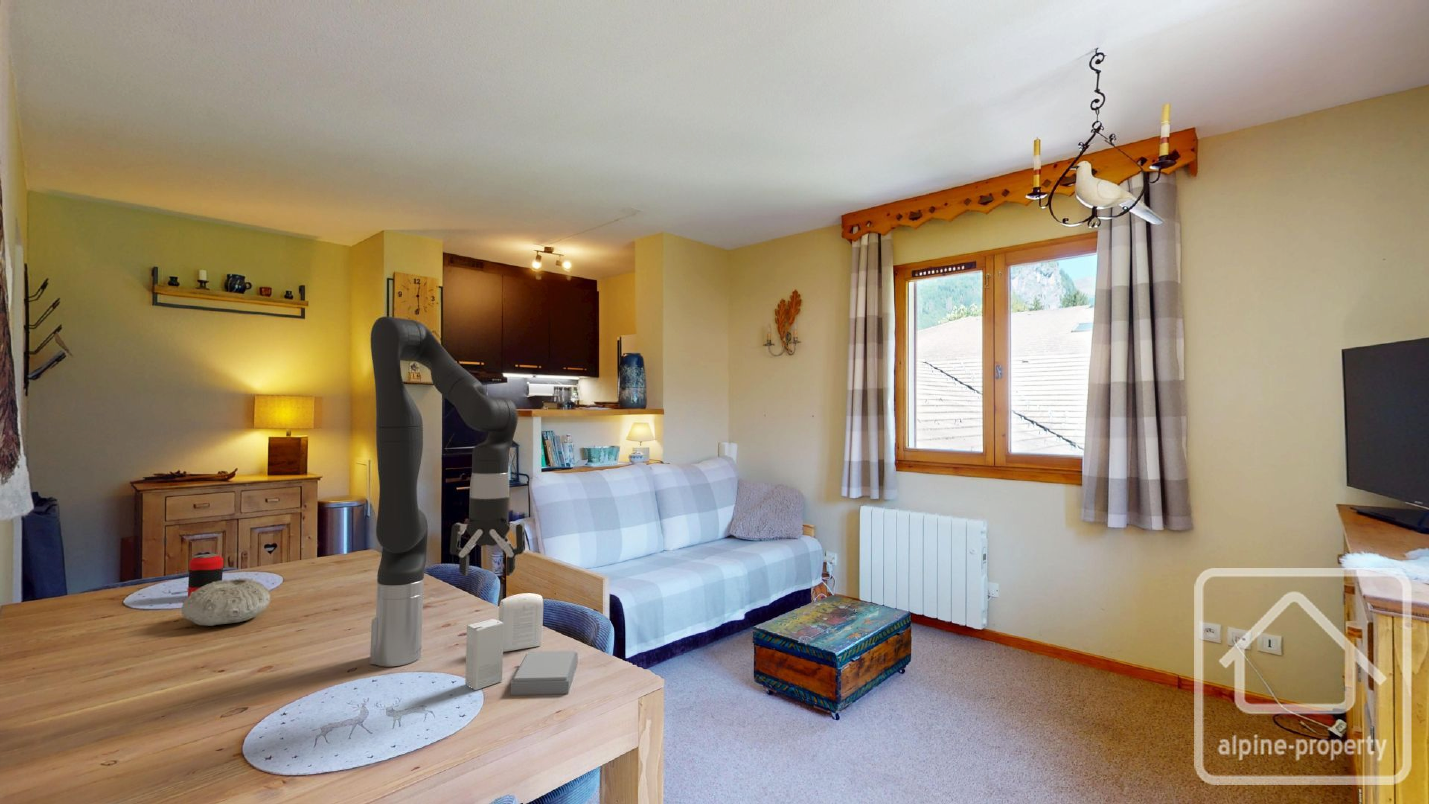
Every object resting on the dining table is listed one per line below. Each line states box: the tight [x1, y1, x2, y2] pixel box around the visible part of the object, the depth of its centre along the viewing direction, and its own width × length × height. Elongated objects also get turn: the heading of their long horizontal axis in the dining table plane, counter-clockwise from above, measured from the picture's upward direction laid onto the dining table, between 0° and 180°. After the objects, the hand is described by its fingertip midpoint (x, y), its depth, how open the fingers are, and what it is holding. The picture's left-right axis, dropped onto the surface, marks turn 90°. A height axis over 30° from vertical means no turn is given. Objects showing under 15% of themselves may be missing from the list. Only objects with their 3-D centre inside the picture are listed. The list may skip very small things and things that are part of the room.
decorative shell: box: [181, 577, 271, 627], centre depth 157 cm, size 18×18×10 cm
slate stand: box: [510, 650, 579, 696], centre depth 126 cm, size 11×15×3 cm
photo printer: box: [497, 592, 544, 653], centre depth 144 cm, size 10×4×12 cm, turn 123°
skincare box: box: [464, 618, 504, 691], centre depth 123 cm, size 6×4×12 cm
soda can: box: [187, 553, 224, 598], centre depth 177 cm, size 8×8×12 cm
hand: (487, 575), depth 124 cm, fingers open, 8 cm apart
